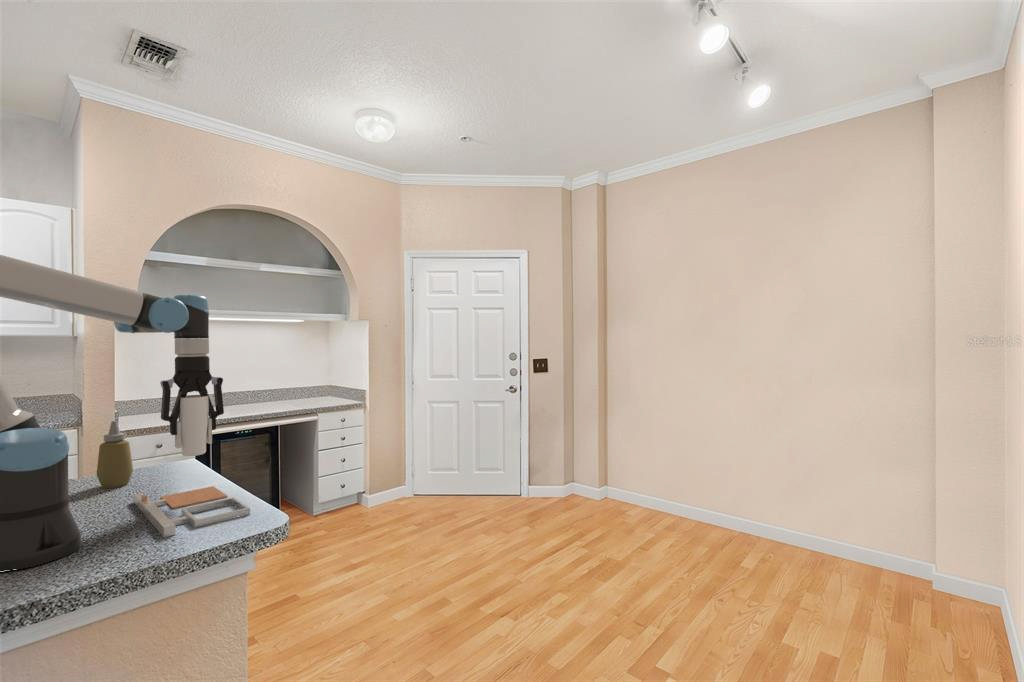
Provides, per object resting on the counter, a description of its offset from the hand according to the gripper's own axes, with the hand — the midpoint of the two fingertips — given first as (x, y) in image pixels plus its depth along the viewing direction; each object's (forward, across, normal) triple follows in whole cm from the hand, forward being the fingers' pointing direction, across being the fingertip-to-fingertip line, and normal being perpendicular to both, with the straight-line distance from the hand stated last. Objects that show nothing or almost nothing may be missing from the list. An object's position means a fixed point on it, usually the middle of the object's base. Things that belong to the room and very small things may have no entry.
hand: (193, 444), depth 129 cm
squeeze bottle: (+14, +12, -29) cm, 34 cm away
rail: (+14, +3, +9) cm, 17 cm away
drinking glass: (+3, 0, 0) cm, 3 cm away
